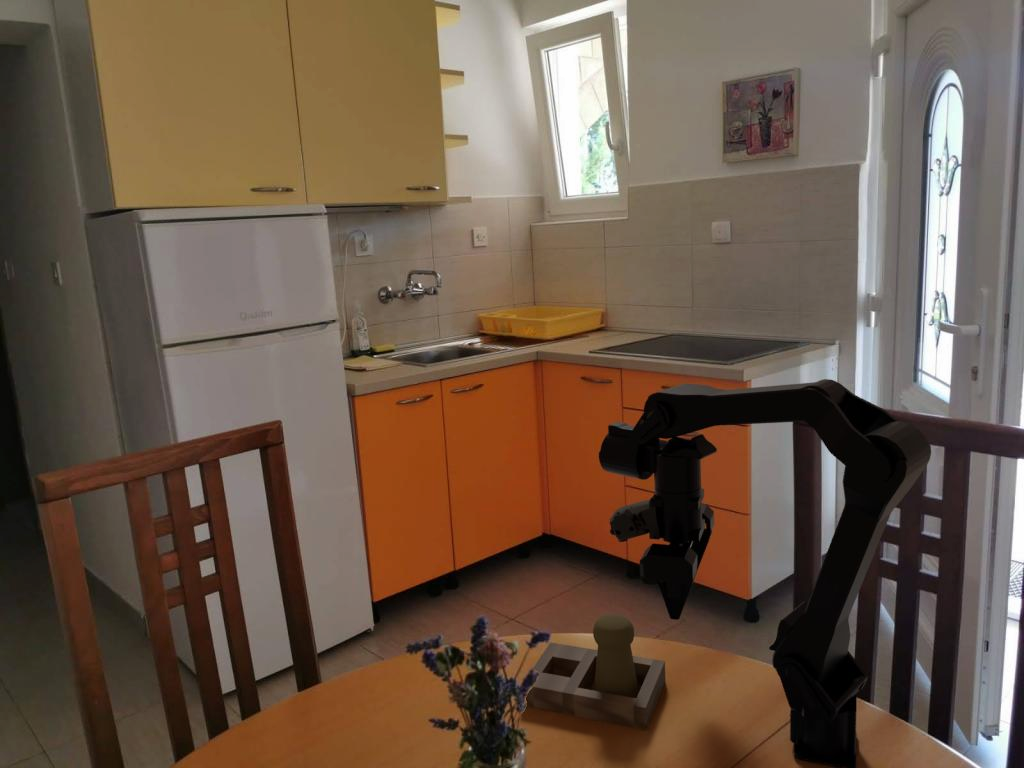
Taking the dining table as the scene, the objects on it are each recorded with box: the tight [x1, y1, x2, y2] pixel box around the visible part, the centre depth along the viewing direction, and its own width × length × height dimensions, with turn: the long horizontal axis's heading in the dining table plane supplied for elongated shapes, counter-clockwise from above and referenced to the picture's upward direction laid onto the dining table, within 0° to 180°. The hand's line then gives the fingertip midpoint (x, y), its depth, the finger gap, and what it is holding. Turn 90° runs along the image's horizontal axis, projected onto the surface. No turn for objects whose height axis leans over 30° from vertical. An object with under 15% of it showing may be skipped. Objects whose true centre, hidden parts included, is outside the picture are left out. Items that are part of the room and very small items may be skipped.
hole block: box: [526, 641, 666, 731], centre depth 103 cm, size 16×11×3 cm, turn 67°
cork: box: [592, 613, 640, 698], centre depth 101 cm, size 6×6×11 cm
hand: (681, 601), depth 101 cm, fingers open, 9 cm apart
